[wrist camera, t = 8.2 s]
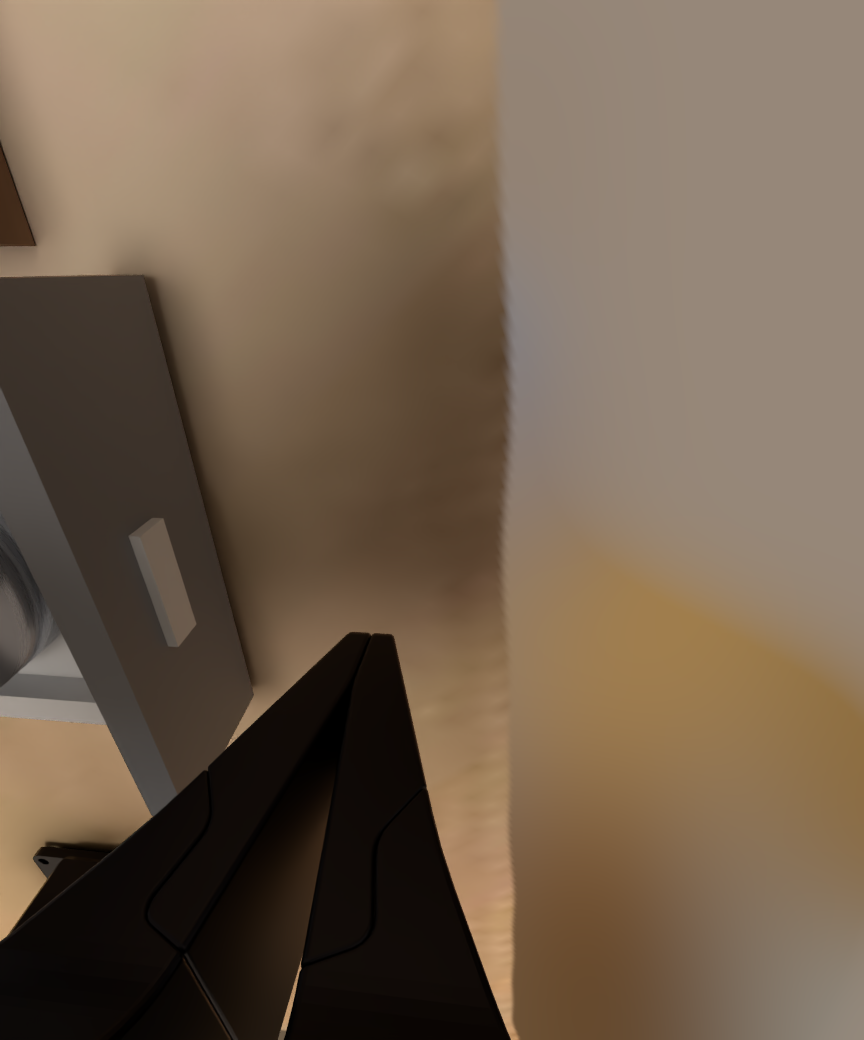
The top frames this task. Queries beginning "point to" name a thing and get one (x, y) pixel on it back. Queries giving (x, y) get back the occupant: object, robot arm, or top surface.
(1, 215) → the walnut block
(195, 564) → the tray
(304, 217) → the top surface
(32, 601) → the disc
